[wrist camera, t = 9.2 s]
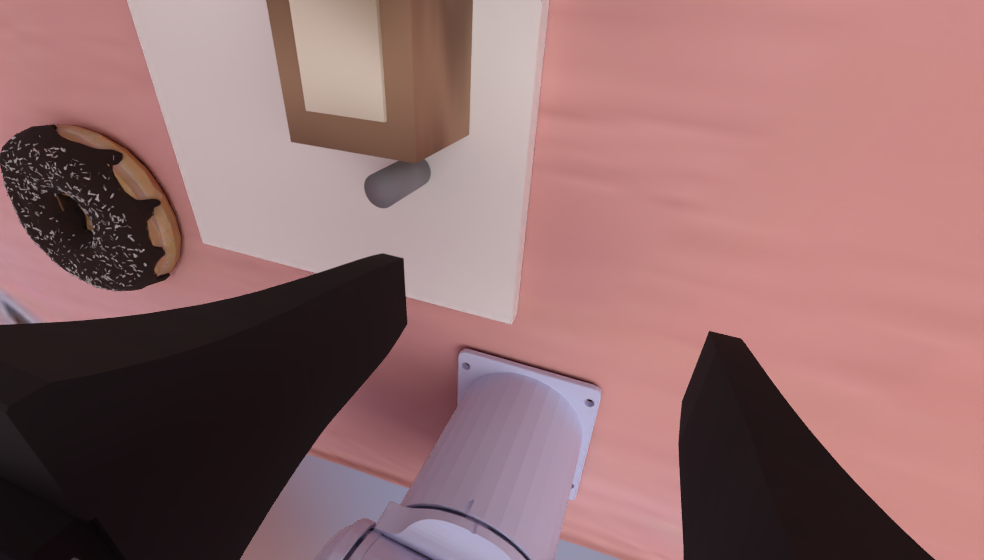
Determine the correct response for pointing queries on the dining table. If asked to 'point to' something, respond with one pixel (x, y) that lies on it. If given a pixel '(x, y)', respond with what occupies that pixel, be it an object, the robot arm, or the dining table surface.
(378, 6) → the brown rectangular box
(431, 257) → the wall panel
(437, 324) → the dining table surface
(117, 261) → the donut
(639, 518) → the dining table surface
